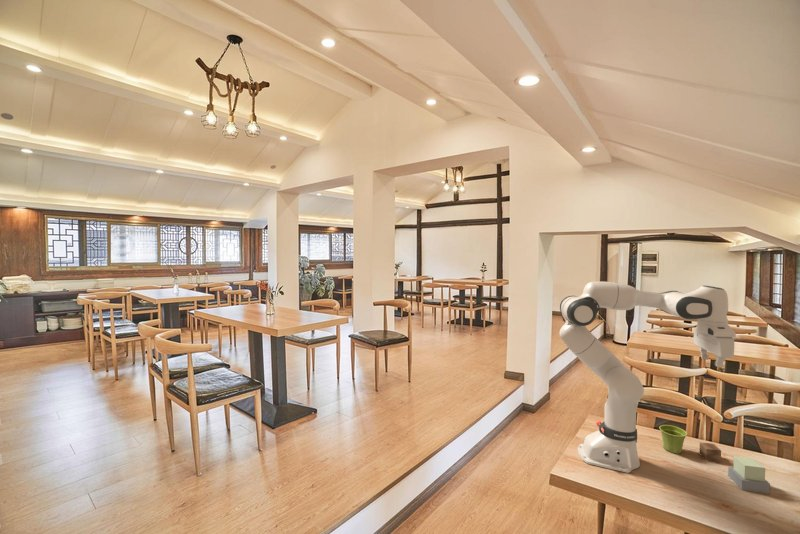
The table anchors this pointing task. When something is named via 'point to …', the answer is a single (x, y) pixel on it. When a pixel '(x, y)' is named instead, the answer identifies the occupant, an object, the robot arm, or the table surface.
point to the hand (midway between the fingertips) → (711, 362)
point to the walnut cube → (710, 452)
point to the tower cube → (749, 468)
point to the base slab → (748, 482)
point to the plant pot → (672, 438)
